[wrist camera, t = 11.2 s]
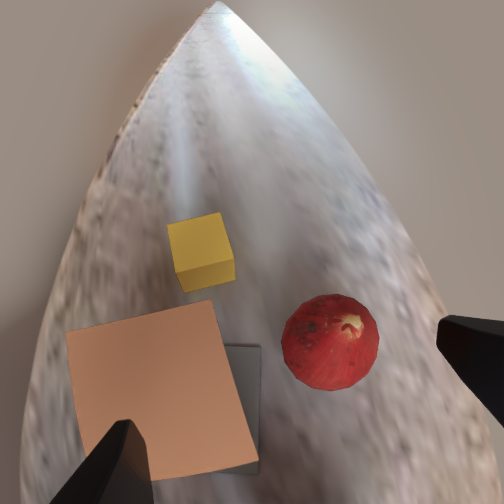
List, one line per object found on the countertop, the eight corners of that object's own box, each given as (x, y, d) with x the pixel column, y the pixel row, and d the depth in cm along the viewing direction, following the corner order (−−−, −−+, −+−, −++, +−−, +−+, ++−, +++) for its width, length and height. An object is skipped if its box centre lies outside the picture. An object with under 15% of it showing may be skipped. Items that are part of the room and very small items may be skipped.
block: (235, 280, 24) (234, 258, 21) (184, 293, 23) (175, 272, 20) (222, 237, 26) (220, 211, 23) (175, 249, 25) (166, 224, 22)
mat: (257, 473, 17) (257, 474, 16) (126, 458, 17) (124, 458, 16) (260, 348, 21) (260, 347, 21) (136, 339, 21) (135, 338, 21)
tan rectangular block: (252, 439, 18) (259, 459, 9) (159, 459, 17) (94, 484, 8) (225, 352, 21) (211, 298, 12) (138, 371, 20) (65, 332, 11)
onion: (266, 384, 20) (279, 366, 13) (287, 308, 23) (305, 254, 16) (347, 401, 19) (398, 389, 12) (361, 326, 22) (409, 281, 15)
